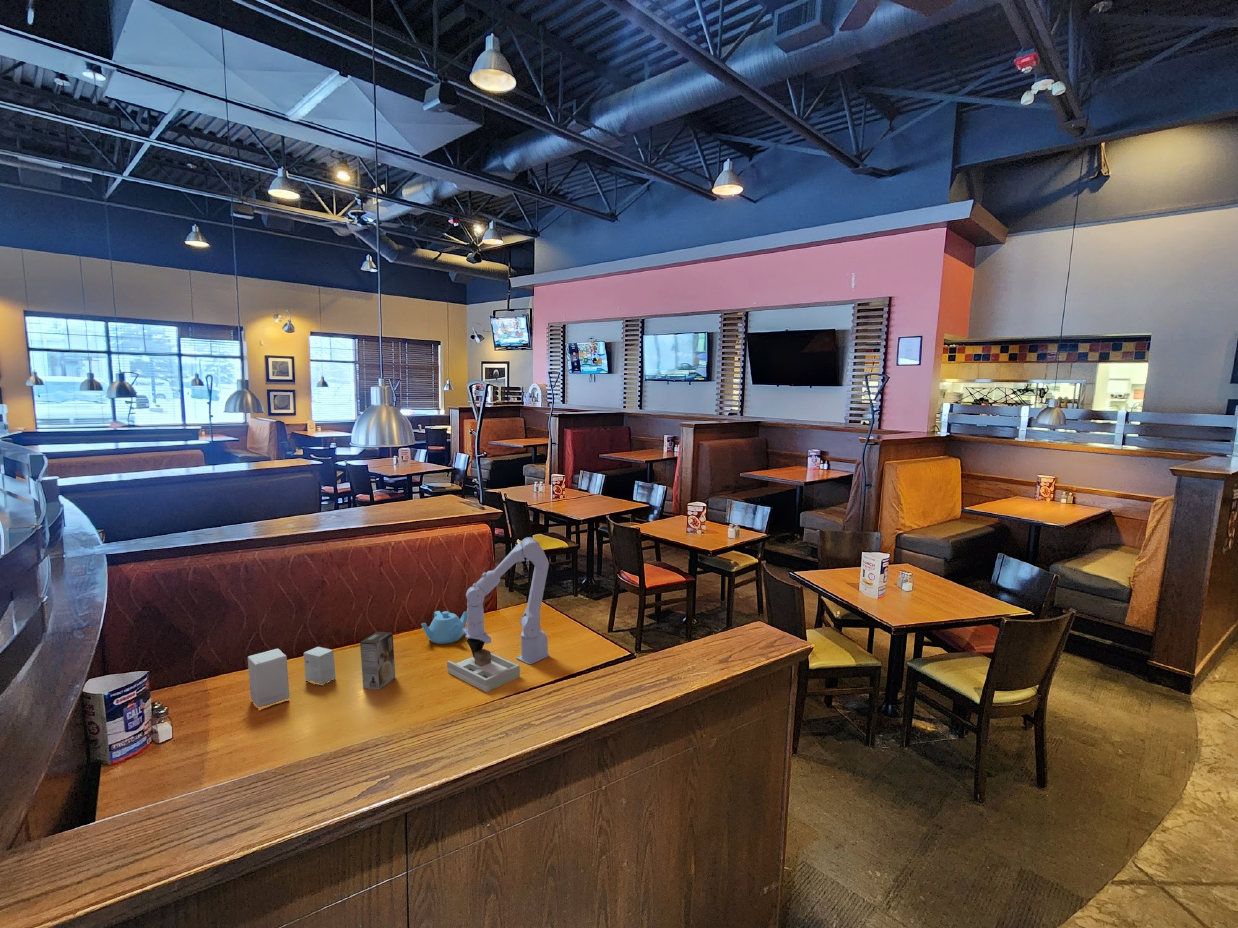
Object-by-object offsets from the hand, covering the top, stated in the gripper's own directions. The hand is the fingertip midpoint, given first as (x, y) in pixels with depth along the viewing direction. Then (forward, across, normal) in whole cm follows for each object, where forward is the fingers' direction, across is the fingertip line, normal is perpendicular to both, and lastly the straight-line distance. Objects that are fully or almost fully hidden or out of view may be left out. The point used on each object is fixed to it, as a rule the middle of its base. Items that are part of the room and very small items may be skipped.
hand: (477, 657), depth 205 cm
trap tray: (+3, +7, -3) cm, 8 cm away
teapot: (+3, -30, +7) cm, 31 cm away
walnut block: (+1, +3, 0) cm, 4 cm away
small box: (+3, -32, -41) cm, 52 cm away
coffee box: (+3, -14, -29) cm, 32 cm away
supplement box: (+3, -29, -57) cm, 64 cm away
